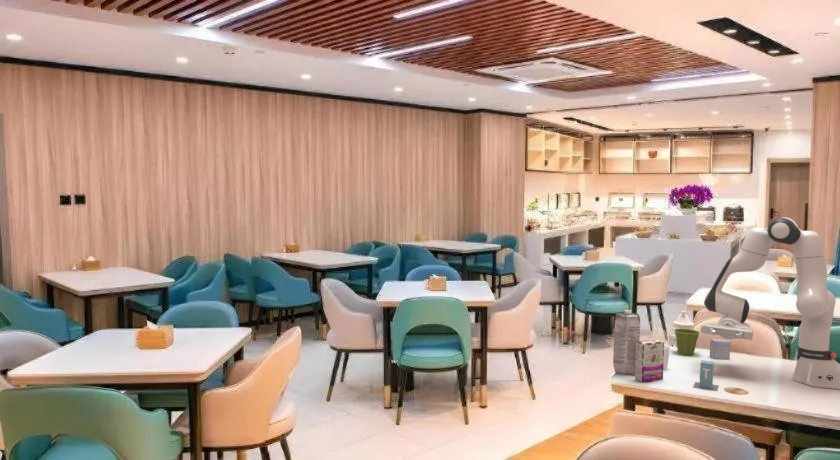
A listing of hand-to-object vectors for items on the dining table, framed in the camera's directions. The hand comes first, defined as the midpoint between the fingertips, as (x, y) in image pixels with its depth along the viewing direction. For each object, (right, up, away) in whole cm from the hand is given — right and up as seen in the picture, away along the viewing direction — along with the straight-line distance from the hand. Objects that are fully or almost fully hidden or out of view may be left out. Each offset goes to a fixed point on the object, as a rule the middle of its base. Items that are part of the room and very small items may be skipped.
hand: (725, 334), depth 274 cm
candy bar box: (-33, -19, -1) cm, 38 cm away
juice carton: (-39, -18, +9) cm, 44 cm away
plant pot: (+1, -17, +44) cm, 47 cm away
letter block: (-13, -19, -10) cm, 25 cm away
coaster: (-3, -20, -15) cm, 26 cm away
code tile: (-13, -20, -10) cm, 26 cm away
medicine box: (+14, -17, +37) cm, 43 cm away
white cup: (-22, -18, +17) cm, 33 cm away
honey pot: (+7, -16, +61) cm, 64 cm away
